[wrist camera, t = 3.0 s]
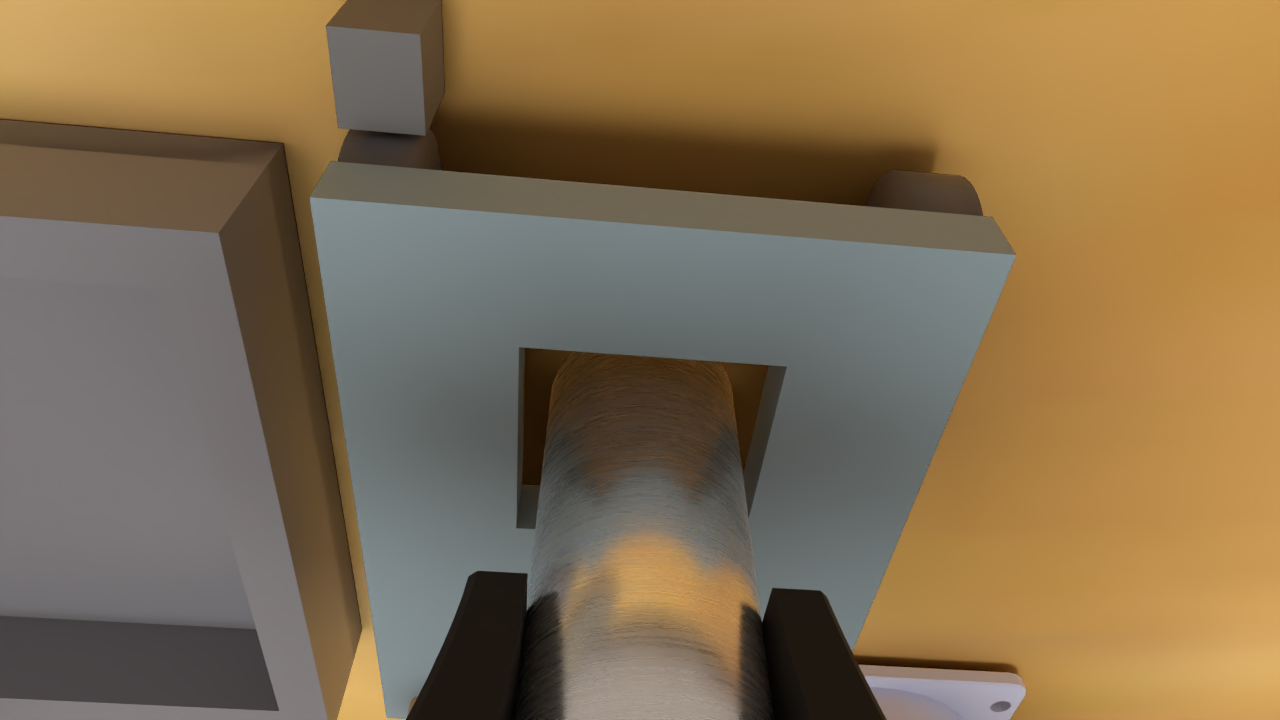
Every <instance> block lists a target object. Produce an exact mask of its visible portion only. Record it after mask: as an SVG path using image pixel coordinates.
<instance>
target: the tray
mask: <svg viewBox="0 0 1280 720" xmlns="http://www.w3.org/2000/svg"><path fill="white" fill-rule="evenodd" d="M361 632H362V628H361V622H360V616H359V610H358V604H357V597H356V591H355V585H354V579H353V573H352V567H351V561H350V554H349V548H348V542H347V536H346V530H345V524H344V517H343V511H342V505H341V499H340V493H339V487H338V480H337V474H336V468H335V462H334V456H333V450H332V443H331V437H330V431H329V425H328V419H327V413H326V407H325V400H324V394H323V388H322V382H321V376H320V370H319V363H318V357H317V351H316V345H315V339H314V333H313V326H312V320H311V314H310V308H309V302H308V296H307V289H306V283H305V277H304V271H303V265H302V259H301V253H300V246H299V240H298V234H297V228H296V222H295V216H294V209H293V203H292V197H291V191H290V185H289V179H288V172H287V166H286V160H285V154H284V148H283V144H282V143H270V142H259V141H247V140H235V139H223V138H212V137H200V136H188V135H176V134H165V133H153V132H141V131H130V130H118V129H106V128H94V127H83V126H71V125H59V124H47V123H36V122H24V121H12V120H0V720H337V717H338V714H339V710H340V707H341V703H342V699H343V696H344V692H345V689H346V685H347V682H348V678H349V674H350V671H351V667H352V664H353V660H354V657H355V653H356V649H357V646H358V642H359V639H360V635H361Z"/></svg>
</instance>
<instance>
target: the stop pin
mask: <svg viewBox="0 0 1280 720" xmlns="http://www.w3.org/2000/svg"><path fill="white" fill-rule="evenodd" d="M513 720H775V719H774V711H773V704H772V696H771V688H770V680H769V673H768V665H767V657H766V649H765V642H764V634H763V626H762V618H761V611H760V603H759V595H758V588H757V580H756V572H755V564H754V557H753V549H752V541H751V533H750V526H749V518H748V510H747V502H746V495H745V487H744V479H743V471H742V464H741V456H740V448H739V440H738V433H737V425H736V417H735V410H734V402H733V394H732V387H731V383H730V379H729V377H728V374H727V372H726V370H725V369H724V367H723V365H722V364H721V362H717V361H703V360H689V359H675V358H662V357H648V356H634V355H620V354H607V353H593V352H579V351H573V352H572V353H571V354H570V355H569V356H568V357H567V358H566V359H565V360H564V362H563V363H562V365H561V366H560V367H559V369H558V371H557V373H556V375H555V378H554V381H553V384H552V390H551V398H550V406H549V415H548V423H547V432H546V441H545V449H544V458H543V466H542V475H541V483H540V492H539V501H538V509H537V518H536V526H535V535H534V543H533V552H532V561H531V569H530V578H529V586H528V595H527V612H526V621H525V629H524V638H523V647H522V655H521V664H520V673H519V681H518V688H517V694H516V700H515V707H514V715H513Z"/></svg>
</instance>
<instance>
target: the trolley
mask: <svg viewBox="0 0 1280 720" xmlns="http://www.w3.org/2000/svg"><path fill="white" fill-rule="evenodd" d="M326 30H327V39H328V47H329V55H330V64H331V72H332V80H333V89H334V97H335V105H336V114H337V122H338V128H342V129H350V131H349V132H348V134H347V136H346V138H345V140H344V142H343V145H342V148H341V151H340V154H339V158H338V162H335V161H331V162H330V164H329V165H328V167H327V169H326V170H325V172H324V174H323V175H322V177H321V179H320V180H319V182H318V184H317V185H316V187H315V189H314V190H313V192H312V194H311V195H310V197H309V198H310V205H311V212H312V218H313V225H314V232H315V239H316V245H317V252H318V259H319V265H320V272H321V279H322V286H323V292H324V299H325V306H326V313H327V319H328V326H329V333H330V339H331V346H332V353H333V360H334V366H335V373H336V380H337V387H338V393H339V400H340V407H341V413H342V420H343V427H344V434H345V440H346V447H347V454H348V461H349V467H350V474H351V481H352V488H353V494H354V501H355V508H356V514H357V521H358V528H359V535H360V541H361V548H362V555H363V562H364V568H365V575H366V582H367V588H368V595H369V602H370V609H371V615H372V622H373V629H374V636H375V642H376V649H377V656H378V662H379V669H380V676H381V683H382V689H383V696H384V703H385V710H386V716H387V718H401V719H406V718H407V716H408V714H409V713H410V711H411V709H412V707H413V705H414V703H415V701H416V699H417V697H418V695H419V693H420V691H421V689H422V687H423V685H424V684H425V682H426V680H427V678H428V675H429V673H430V671H431V669H432V667H433V665H434V663H435V660H436V658H437V656H438V654H439V652H440V650H441V647H442V645H443V643H444V641H445V638H446V636H447V634H448V631H449V629H450V627H451V624H452V622H453V619H454V617H455V614H456V611H457V609H458V606H459V604H460V601H461V598H462V595H463V592H464V589H465V586H466V583H467V579H468V576H469V575H471V574H473V573H475V572H476V571H494V572H511V573H528V579H527V595H528V586H529V578H530V569H531V561H532V552H533V543H534V535H535V526H536V518H537V509H538V501H539V492H540V485H525V484H522V474H523V423H524V372H525V348H538V349H552V350H565V351H579V352H593V353H607V354H620V355H634V356H648V357H662V358H675V359H689V360H703V361H717V362H730V363H744V364H758V365H769V367H768V371H767V375H766V379H765V384H764V388H763V392H762V396H761V401H760V405H759V409H758V413H757V418H756V422H755V426H754V430H753V435H752V439H751V443H750V447H749V452H748V456H747V460H746V464H745V469H744V473H743V479H744V487H745V495H746V502H747V510H748V518H749V526H750V533H751V541H752V549H753V557H754V564H755V572H756V580H757V588H758V595H759V603H760V611H761V618H762V621H763V618H764V614H765V611H766V607H767V604H768V601H769V597H770V594H771V590H772V588H786V589H803V590H820V591H822V592H823V593H824V594H825V595H826V596H827V598H828V600H829V603H830V605H831V607H832V610H833V612H834V614H835V616H836V618H837V621H838V623H839V625H840V627H841V629H842V632H843V634H844V636H845V638H846V640H847V642H848V644H849V646H850V649H851V651H853V649H854V646H855V644H856V641H857V639H858V637H859V634H860V632H861V629H862V627H863V624H864V622H865V620H866V617H867V615H868V612H869V610H870V608H871V605H872V603H873V600H874V598H875V595H876V593H877V591H878V588H879V586H880V583H881V581H882V579H883V576H884V574H885V571H886V569H887V566H888V564H889V562H890V559H891V557H892V554H893V552H894V550H895V547H896V545H897V542H898V540H899V538H900V535H901V533H902V530H903V528H904V525H905V523H906V521H907V518H908V516H909V513H910V511H911V509H912V506H913V504H914V501H915V499H916V496H917V494H918V492H919V489H920V487H921V484H922V482H923V480H924V477H925V475H926V472H927V470H928V467H929V465H930V463H931V460H932V458H933V455H934V453H935V451H936V448H937V446H938V443H939V441H940V438H941V436H942V434H943V431H944V429H945V426H946V424H947V422H948V419H949V417H950V414H951V412H952V410H953V407H954V405H955V402H956V400H957V397H958V395H959V393H960V390H961V388H962V385H963V383H964V381H965V378H966V376H967V373H968V371H969V368H970V366H971V364H972V361H973V359H974V356H975V354H976V352H977V349H978V347H979V344H980V342H981V339H982V337H983V335H984V332H985V330H986V327H987V325H988V323H989V320H990V318H991V315H992V313H993V311H994V308H995V306H996V303H997V301H998V298H999V296H1000V294H1001V291H1002V289H1003V286H1004V284H1005V282H1006V279H1007V277H1008V274H1009V272H1010V269H1011V267H1012V265H1013V262H1014V260H1015V257H1016V254H1015V252H1014V250H1013V249H1012V247H1011V246H1010V244H1009V242H1008V241H1007V239H1006V238H1005V236H1004V235H1003V233H1002V231H1001V230H1000V228H999V227H998V225H997V223H996V222H995V220H994V219H993V217H987V216H983V213H982V208H981V204H980V201H979V198H978V195H977V193H976V191H975V189H974V187H973V186H972V184H971V183H970V182H969V181H968V180H967V179H966V178H965V177H962V176H959V175H947V174H936V173H924V172H913V171H901V170H890V171H887V172H886V173H884V174H883V175H882V176H881V177H880V178H879V180H878V181H877V183H876V184H875V186H874V187H873V189H872V191H871V193H870V195H869V198H868V200H867V202H866V205H865V206H857V205H845V204H833V203H821V202H809V201H797V200H786V199H774V198H762V197H750V196H738V195H726V194H714V193H703V192H691V191H679V190H667V189H655V188H643V187H631V186H620V185H608V184H596V183H584V182H572V181H560V180H548V179H537V178H525V177H513V176H501V175H489V174H477V173H465V172H454V171H442V168H441V160H440V153H439V148H438V144H437V140H436V137H435V135H434V133H433V132H432V131H431V130H429V127H430V125H431V123H432V120H433V118H434V116H435V113H436V111H437V109H438V106H439V104H440V102H441V100H442V97H443V95H444V93H445V79H444V55H443V30H442V6H441V0H347V1H346V2H345V4H344V5H343V6H342V7H341V8H340V10H339V11H338V12H337V13H336V14H335V16H334V17H333V18H332V19H331V20H330V22H329V23H328V24H327V25H326Z"/></svg>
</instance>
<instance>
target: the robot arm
mask: <svg viewBox="0 0 1280 720" xmlns="http://www.w3.org/2000/svg"><path fill="white" fill-rule="evenodd" d="M527 579H528V573H511V572H494V571H476V572H475V573H473V574H471V575H469V576H468V579H467V583H466V586H465V589H464V592H463V595H462V598H461V601H460V604H459V606H458V609H457V611H456V614H455V617H454V619H453V622H452V624H451V627H450V629H449V631H448V634H447V636H446V638H445V641H444V643H443V645H442V647H441V650H440V652H439V654H438V656H437V658H436V660H435V663H434V665H433V667H432V669H431V671H430V673H429V675H428V678H427V680H426V682H425V684H424V685H423V687H422V689H421V691H420V693H419V695H418V697H417V699H416V701H415V703H414V705H413V707H412V709H411V711H410V713H409V714H408V716H407V718H406V720H513V715H514V707H515V700H516V694H517V688H518V681H519V673H520V664H521V655H522V647H523V638H524V629H525V621H526V612H527ZM762 626H763V634H764V642H765V649H766V657H767V665H768V673H769V680H770V688H771V696H772V704H773V711H774V719H775V720H1010V718H1011V716H1012V715H1013V713H1014V712H1015V710H1016V709H1017V707H1018V706H1019V704H1020V703H1021V701H1022V700H1023V698H1024V697H1025V695H1026V688H1025V686H1024V683H1023V680H1022V678H1021V677H1020V676H1018V675H1017V674H1014V673H1009V672H991V671H972V670H953V669H934V668H914V667H895V666H876V665H858V663H857V661H856V659H855V657H854V655H853V653H852V651H851V649H850V646H849V644H848V642H847V640H846V638H845V636H844V634H843V632H842V629H841V627H840V625H839V623H838V621H837V618H836V616H835V614H834V612H833V610H832V607H831V605H830V603H829V600H828V598H827V596H826V595H825V594H824V593H823V592H822V591H820V590H803V589H786V588H772V590H771V594H770V597H769V601H768V604H767V607H766V611H765V614H764V618H763V621H762Z"/></svg>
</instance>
